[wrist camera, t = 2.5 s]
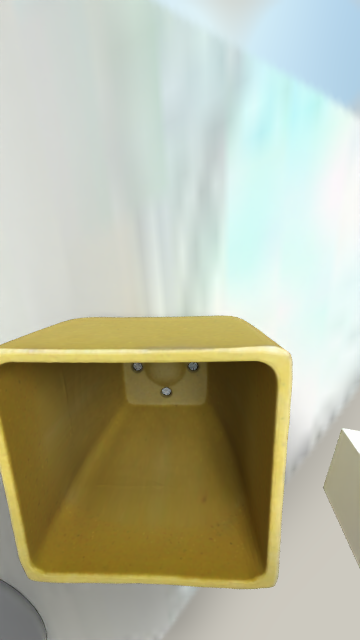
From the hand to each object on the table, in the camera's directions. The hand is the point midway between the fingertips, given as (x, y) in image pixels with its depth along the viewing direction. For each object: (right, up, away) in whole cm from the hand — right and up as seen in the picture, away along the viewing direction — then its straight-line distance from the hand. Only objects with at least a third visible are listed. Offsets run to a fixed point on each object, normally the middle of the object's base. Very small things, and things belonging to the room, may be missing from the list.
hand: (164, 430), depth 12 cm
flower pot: (0, +2, +6) cm, 6 cm away
